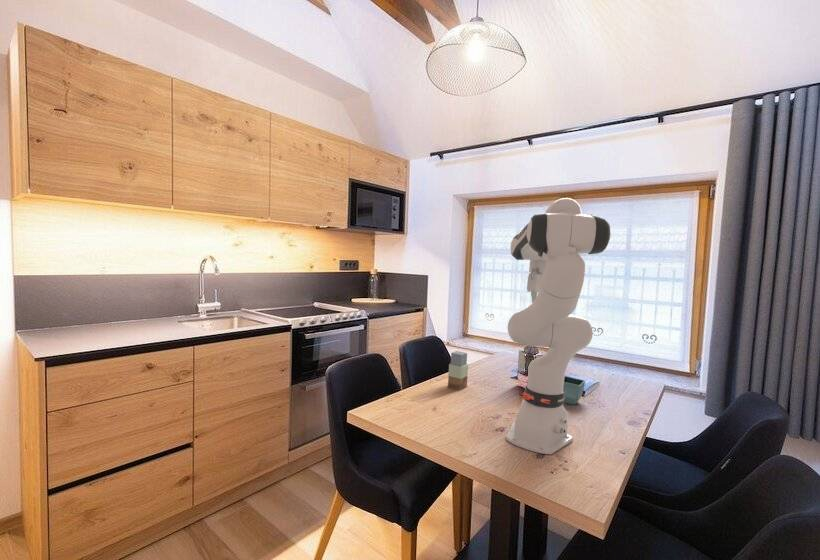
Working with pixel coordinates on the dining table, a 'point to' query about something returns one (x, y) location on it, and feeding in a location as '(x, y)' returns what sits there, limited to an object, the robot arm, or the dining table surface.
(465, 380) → the walnut block
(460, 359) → the slate cube
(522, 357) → the candy bar box
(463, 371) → the sage block
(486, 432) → the dining table surface
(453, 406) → the dining table surface
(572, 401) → the flower pot
